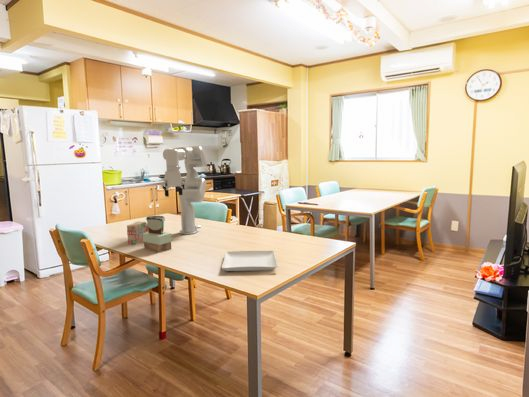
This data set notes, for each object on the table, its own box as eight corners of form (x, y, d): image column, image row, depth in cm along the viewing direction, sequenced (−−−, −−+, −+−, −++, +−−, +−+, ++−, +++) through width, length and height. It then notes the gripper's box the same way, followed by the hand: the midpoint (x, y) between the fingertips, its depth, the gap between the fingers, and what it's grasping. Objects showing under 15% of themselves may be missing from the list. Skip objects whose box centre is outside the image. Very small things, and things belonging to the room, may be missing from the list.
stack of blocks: (146, 236, 236) (145, 218, 234) (154, 236, 235) (153, 219, 233) (127, 244, 215) (126, 225, 214) (136, 244, 214) (135, 225, 212)
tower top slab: (155, 238, 211) (154, 230, 211) (171, 241, 203) (171, 233, 203) (142, 241, 204) (142, 233, 203) (159, 244, 196) (159, 236, 195)
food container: (169, 232, 205) (169, 216, 204) (163, 234, 199) (162, 218, 198) (153, 230, 209) (152, 214, 208) (146, 233, 204) (145, 216, 202)
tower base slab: (157, 245, 212) (157, 237, 212) (171, 250, 203) (171, 241, 202) (144, 248, 206) (143, 240, 205) (158, 253, 196) (157, 245, 195)
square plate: (274, 256, 189) (274, 249, 189) (277, 273, 162) (277, 266, 162) (225, 257, 188) (225, 250, 188) (221, 274, 161) (221, 266, 161)
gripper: (181, 168, 222) (182, 193, 224) (157, 169, 209) (158, 196, 212) (187, 168, 217) (188, 194, 219) (163, 169, 204) (164, 197, 207)
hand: (173, 195), depth 215 cm, fingers open, 9 cm apart
